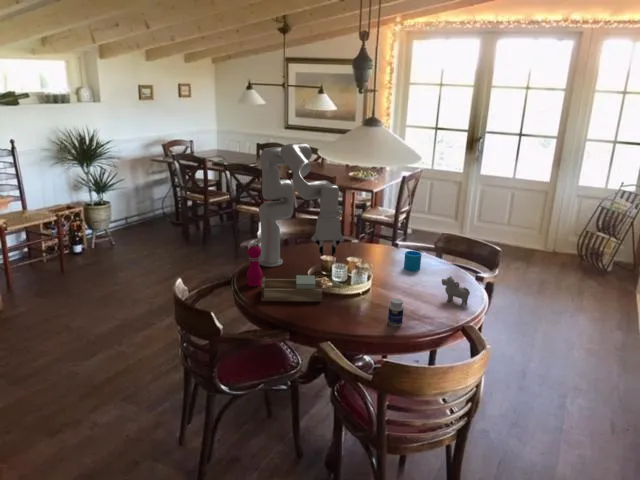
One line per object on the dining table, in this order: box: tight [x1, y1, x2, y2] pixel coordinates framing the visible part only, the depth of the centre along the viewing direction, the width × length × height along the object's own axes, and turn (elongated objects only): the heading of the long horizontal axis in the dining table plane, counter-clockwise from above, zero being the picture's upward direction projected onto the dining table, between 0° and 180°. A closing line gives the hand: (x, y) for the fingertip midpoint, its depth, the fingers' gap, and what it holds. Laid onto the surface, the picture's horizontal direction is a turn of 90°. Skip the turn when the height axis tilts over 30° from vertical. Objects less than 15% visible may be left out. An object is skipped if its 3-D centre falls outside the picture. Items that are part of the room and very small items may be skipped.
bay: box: [260, 276, 323, 302], centre depth 230 cm, size 12×26×6 cm, turn 93°
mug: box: [403, 250, 422, 272], centre depth 267 cm, size 12×8×8 cm
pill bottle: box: [387, 297, 404, 327], centre depth 207 cm, size 6×6×10 cm
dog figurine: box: [441, 276, 471, 307], centre depth 229 cm, size 5×13×11 cm, turn 54°
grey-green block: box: [295, 274, 316, 289], centre depth 230 cm, size 9×8×6 cm
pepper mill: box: [246, 242, 264, 288], centre depth 239 cm, size 7×7×20 cm
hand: (327, 254), depth 226 cm, fingers open, 4 cm apart
